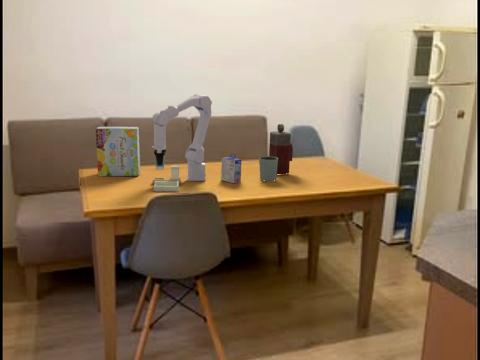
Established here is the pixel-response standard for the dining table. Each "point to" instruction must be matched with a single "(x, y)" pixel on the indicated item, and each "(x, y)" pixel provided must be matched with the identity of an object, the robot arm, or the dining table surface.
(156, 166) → the block
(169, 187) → the tray
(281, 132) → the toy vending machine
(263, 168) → the drinking glass
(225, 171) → the ink cartridge box
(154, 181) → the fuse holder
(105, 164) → the snack box
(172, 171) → the block
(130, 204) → the dining table surface
